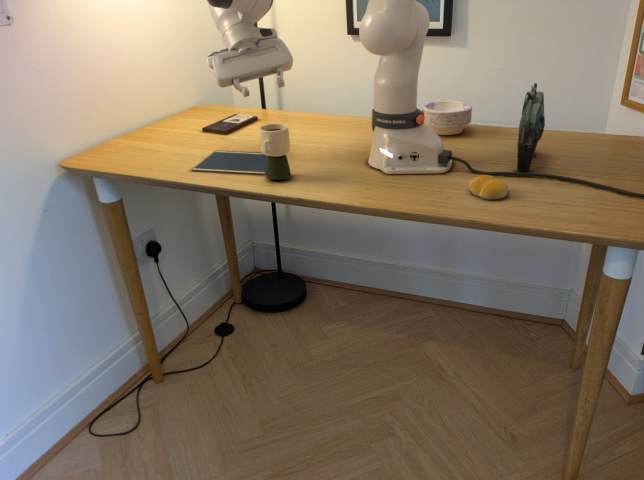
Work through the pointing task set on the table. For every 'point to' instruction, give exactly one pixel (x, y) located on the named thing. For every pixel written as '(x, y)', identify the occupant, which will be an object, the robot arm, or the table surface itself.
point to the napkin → (234, 163)
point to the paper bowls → (447, 116)
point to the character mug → (275, 150)
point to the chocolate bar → (229, 124)
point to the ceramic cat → (530, 128)
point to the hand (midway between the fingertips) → (264, 90)
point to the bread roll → (488, 187)
